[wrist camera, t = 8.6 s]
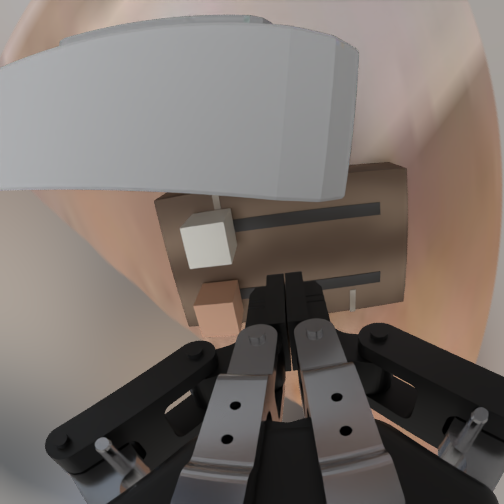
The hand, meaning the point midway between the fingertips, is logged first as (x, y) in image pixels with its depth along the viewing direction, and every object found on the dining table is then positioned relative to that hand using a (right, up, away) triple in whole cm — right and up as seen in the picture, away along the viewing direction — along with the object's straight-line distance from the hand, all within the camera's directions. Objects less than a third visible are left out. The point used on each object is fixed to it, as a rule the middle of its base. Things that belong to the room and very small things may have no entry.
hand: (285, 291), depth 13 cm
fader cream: (-4, +3, +11) cm, 12 cm away
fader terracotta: (-4, -2, +13) cm, 14 cm away
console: (+2, +3, +15) cm, 15 cm away
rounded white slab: (-11, +14, +12) cm, 21 cm away
